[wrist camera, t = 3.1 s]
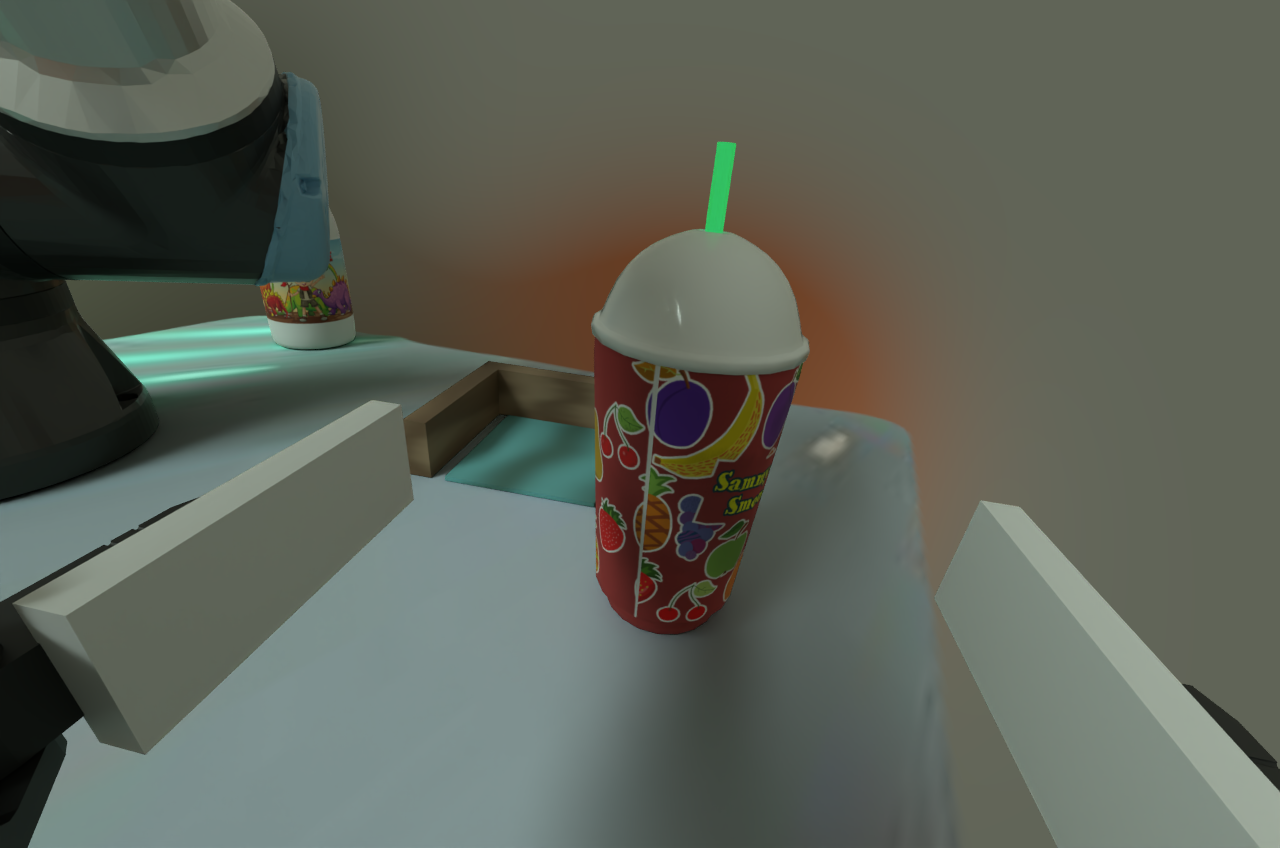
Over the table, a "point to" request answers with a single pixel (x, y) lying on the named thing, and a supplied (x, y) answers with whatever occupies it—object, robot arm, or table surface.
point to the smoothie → (688, 415)
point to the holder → (511, 432)
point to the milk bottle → (313, 306)
